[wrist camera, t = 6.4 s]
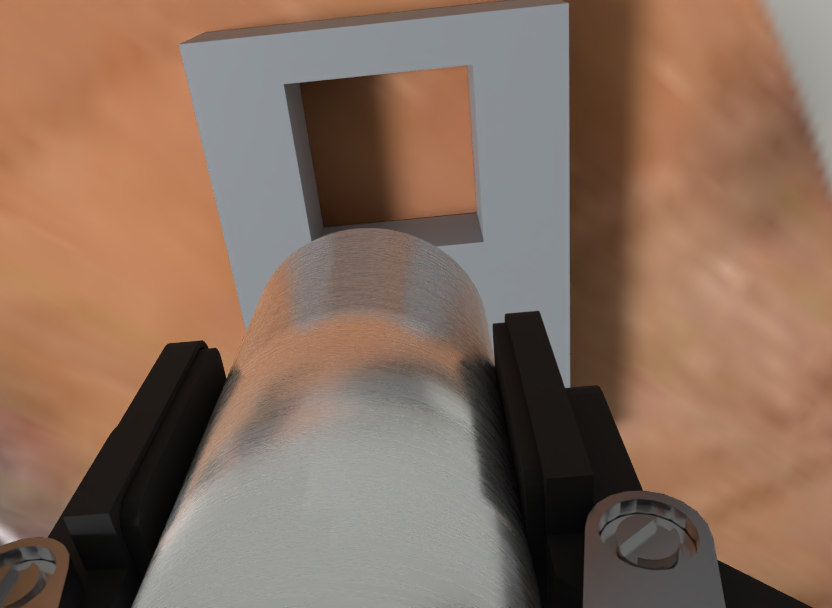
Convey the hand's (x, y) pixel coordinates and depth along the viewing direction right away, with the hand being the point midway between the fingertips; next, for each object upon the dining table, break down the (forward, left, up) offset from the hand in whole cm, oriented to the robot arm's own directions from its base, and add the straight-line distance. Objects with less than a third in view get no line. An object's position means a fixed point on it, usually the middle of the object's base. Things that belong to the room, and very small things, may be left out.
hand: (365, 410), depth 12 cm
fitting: (0, 0, -2) cm, 2 cm away
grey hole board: (-5, 0, -17) cm, 18 cm away
